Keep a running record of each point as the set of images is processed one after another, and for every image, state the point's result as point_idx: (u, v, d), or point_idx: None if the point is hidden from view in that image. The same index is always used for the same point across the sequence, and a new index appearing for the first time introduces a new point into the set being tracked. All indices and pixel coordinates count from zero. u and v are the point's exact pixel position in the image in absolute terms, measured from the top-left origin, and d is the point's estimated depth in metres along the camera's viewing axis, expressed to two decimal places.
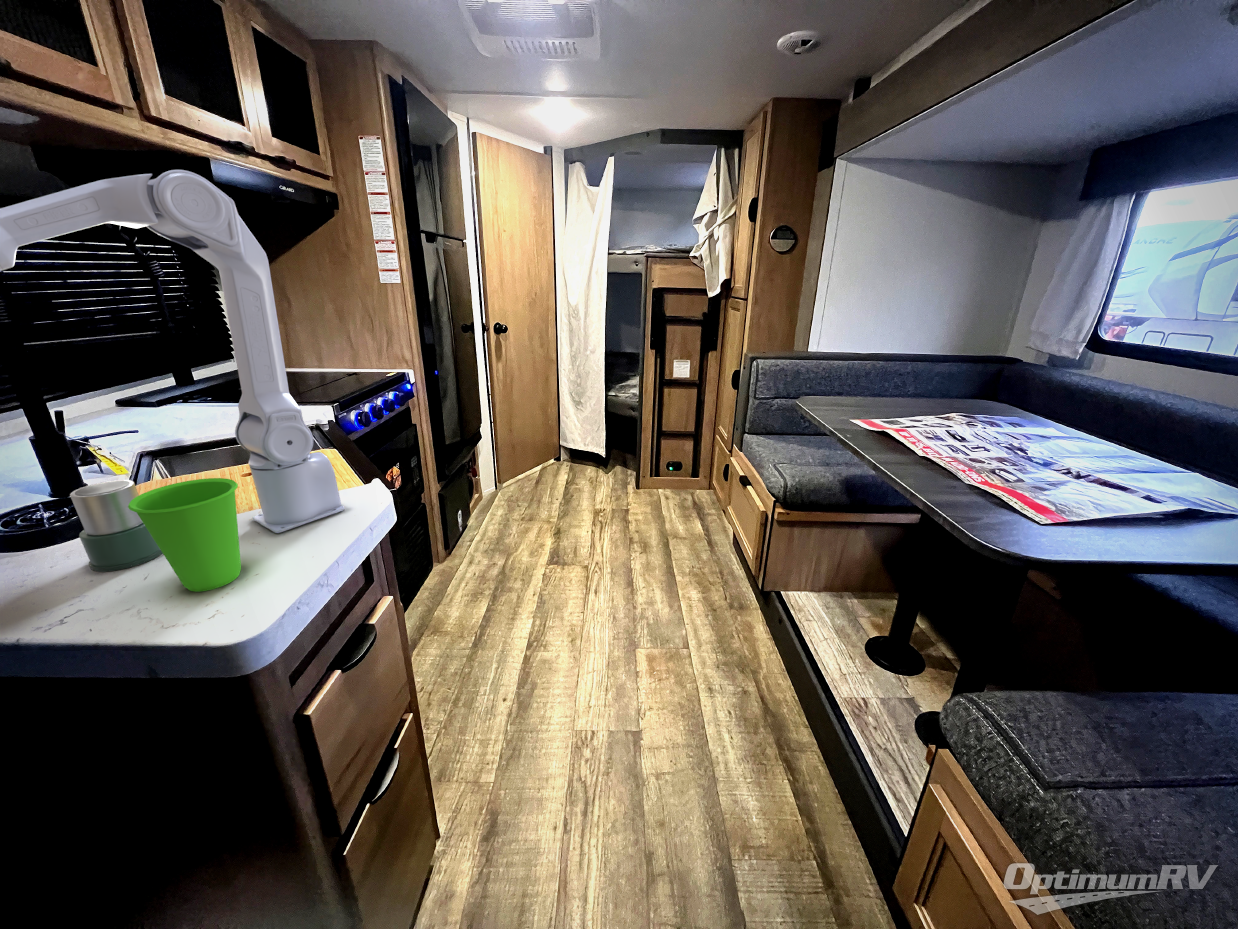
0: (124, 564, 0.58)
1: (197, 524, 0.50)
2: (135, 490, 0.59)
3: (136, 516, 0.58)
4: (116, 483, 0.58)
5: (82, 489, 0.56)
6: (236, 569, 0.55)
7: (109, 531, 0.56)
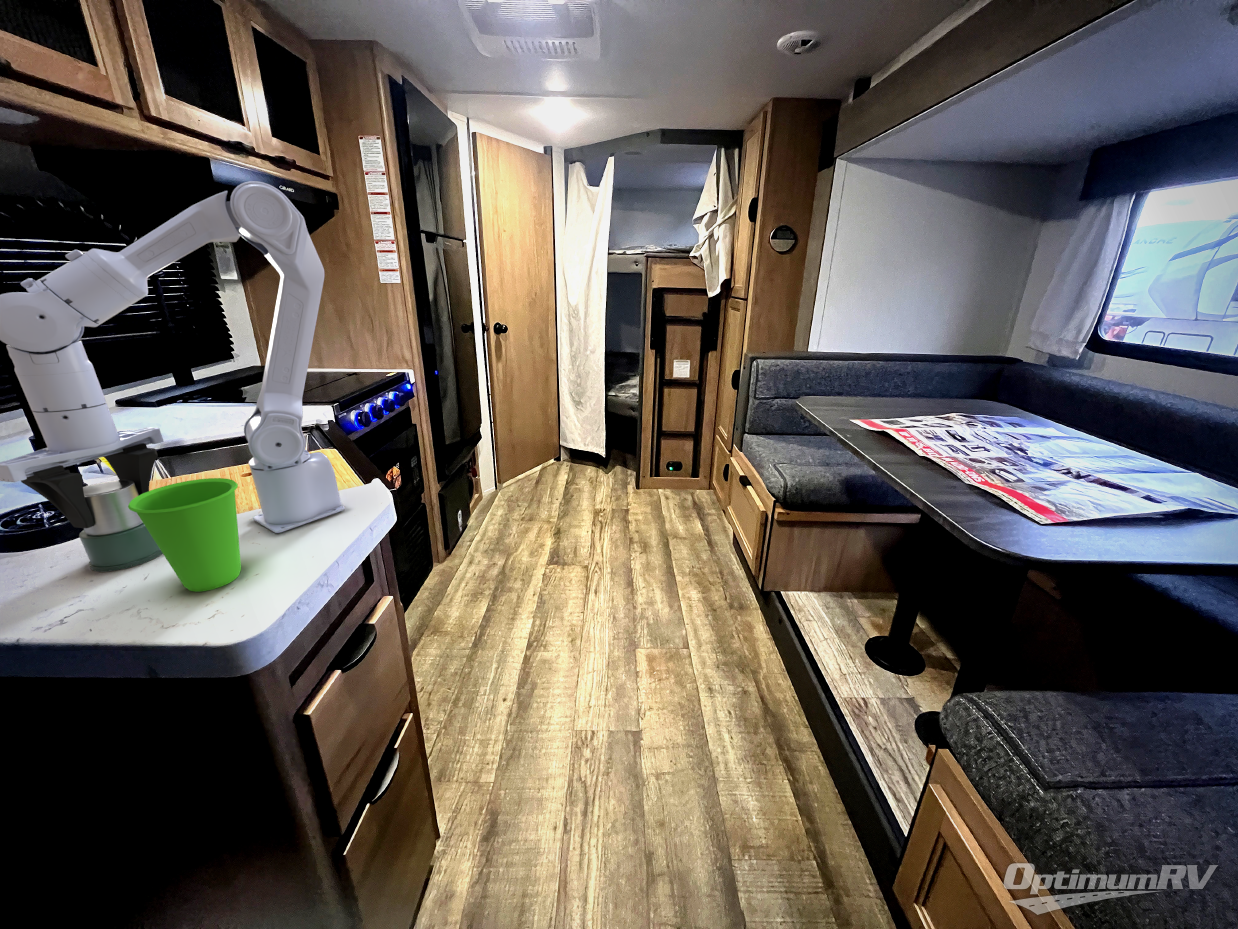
0: (124, 564, 0.58)
1: (197, 524, 0.50)
2: (135, 490, 0.59)
3: (136, 516, 0.58)
4: (116, 483, 0.58)
5: None
6: (236, 569, 0.55)
7: (108, 531, 0.56)
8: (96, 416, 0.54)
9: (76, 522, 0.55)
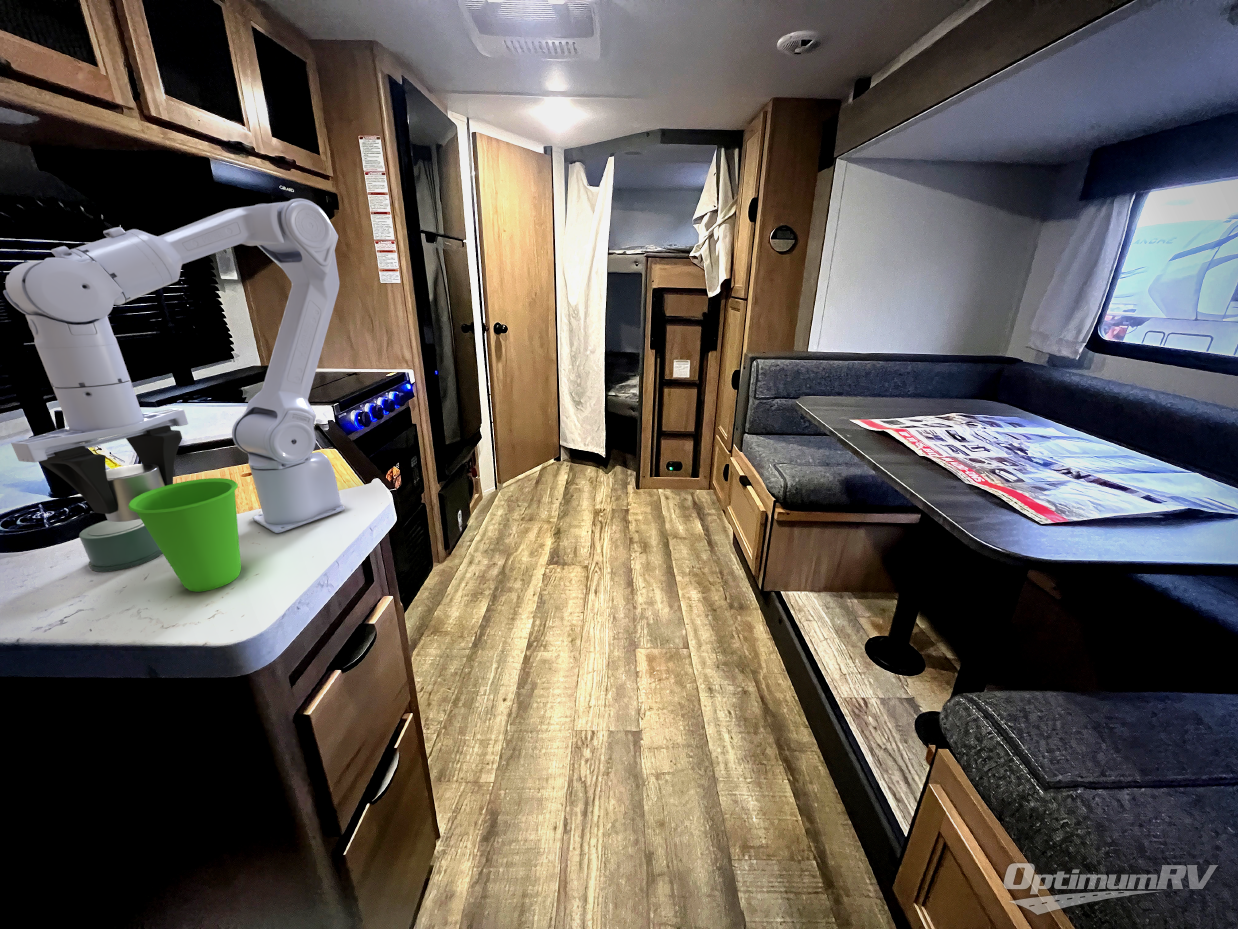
0: (124, 564, 0.58)
1: (197, 524, 0.50)
2: (159, 474, 0.55)
3: None
4: (139, 467, 0.55)
5: None
6: (236, 569, 0.55)
7: (132, 517, 0.53)
8: (120, 393, 0.50)
9: (98, 507, 0.51)
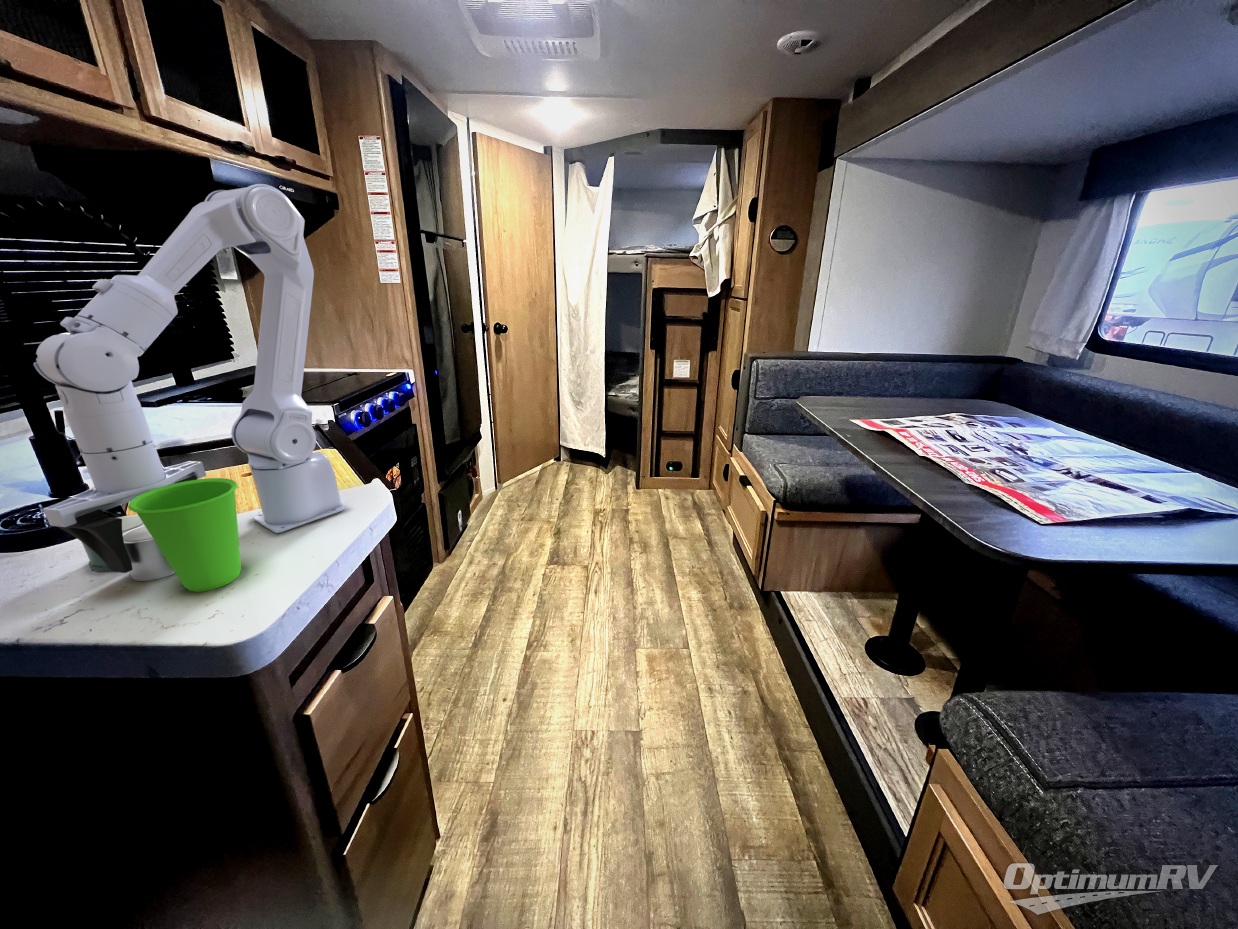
0: None
1: (197, 524, 0.50)
2: None
3: None
4: None
5: (128, 533, 0.55)
6: (236, 569, 0.55)
7: (156, 576, 0.55)
8: (144, 455, 0.53)
9: (114, 567, 0.53)
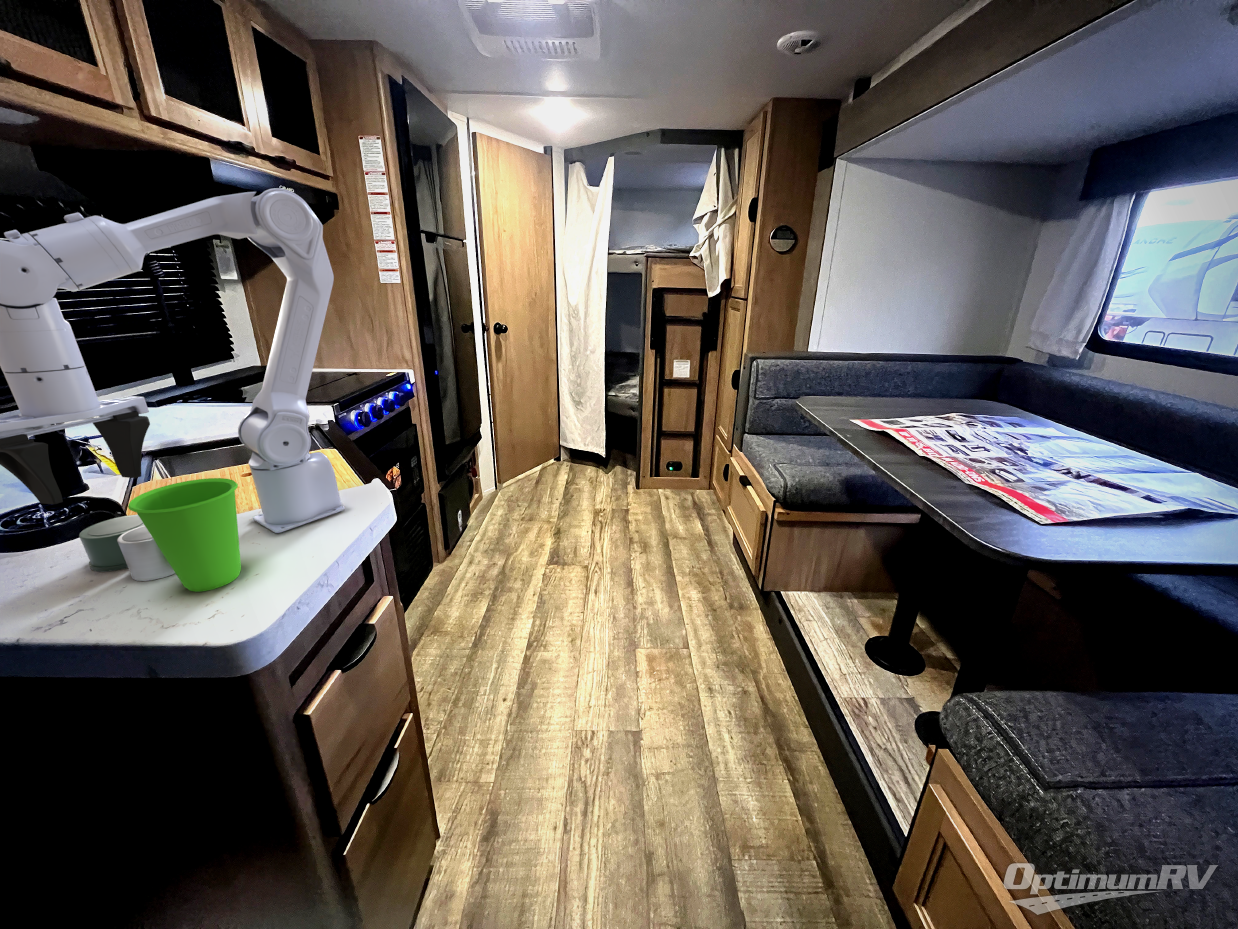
0: (124, 564, 0.58)
1: (197, 524, 0.50)
2: None
3: None
4: None
5: (128, 533, 0.55)
6: (236, 569, 0.55)
7: (156, 576, 0.55)
8: (74, 379, 0.50)
9: (42, 497, 0.50)
